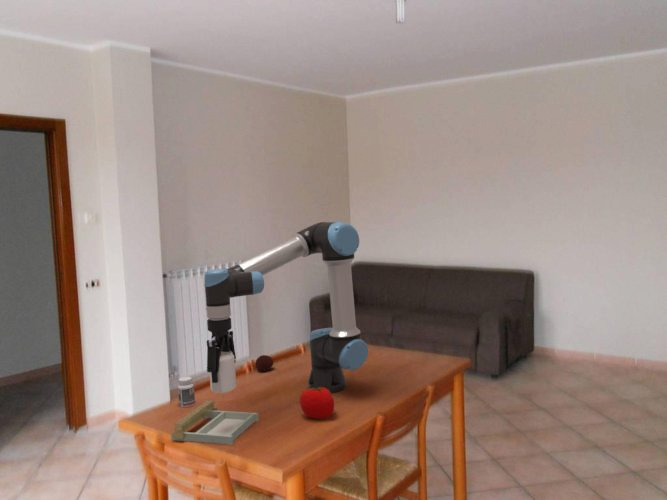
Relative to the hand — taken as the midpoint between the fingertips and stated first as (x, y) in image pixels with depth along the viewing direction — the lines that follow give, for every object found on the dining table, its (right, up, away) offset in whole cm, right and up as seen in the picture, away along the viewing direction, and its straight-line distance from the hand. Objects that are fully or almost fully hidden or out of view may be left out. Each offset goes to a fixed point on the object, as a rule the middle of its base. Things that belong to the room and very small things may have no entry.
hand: (223, 387), depth 189 cm
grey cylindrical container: (0, -1, 0) cm, 1 cm away
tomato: (+30, -12, +10) cm, 34 cm away
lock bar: (-10, -13, +4) cm, 17 cm away
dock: (-3, -14, +2) cm, 15 cm away
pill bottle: (-19, -13, +28) cm, 36 cm away
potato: (+6, -9, +67) cm, 68 cm away
